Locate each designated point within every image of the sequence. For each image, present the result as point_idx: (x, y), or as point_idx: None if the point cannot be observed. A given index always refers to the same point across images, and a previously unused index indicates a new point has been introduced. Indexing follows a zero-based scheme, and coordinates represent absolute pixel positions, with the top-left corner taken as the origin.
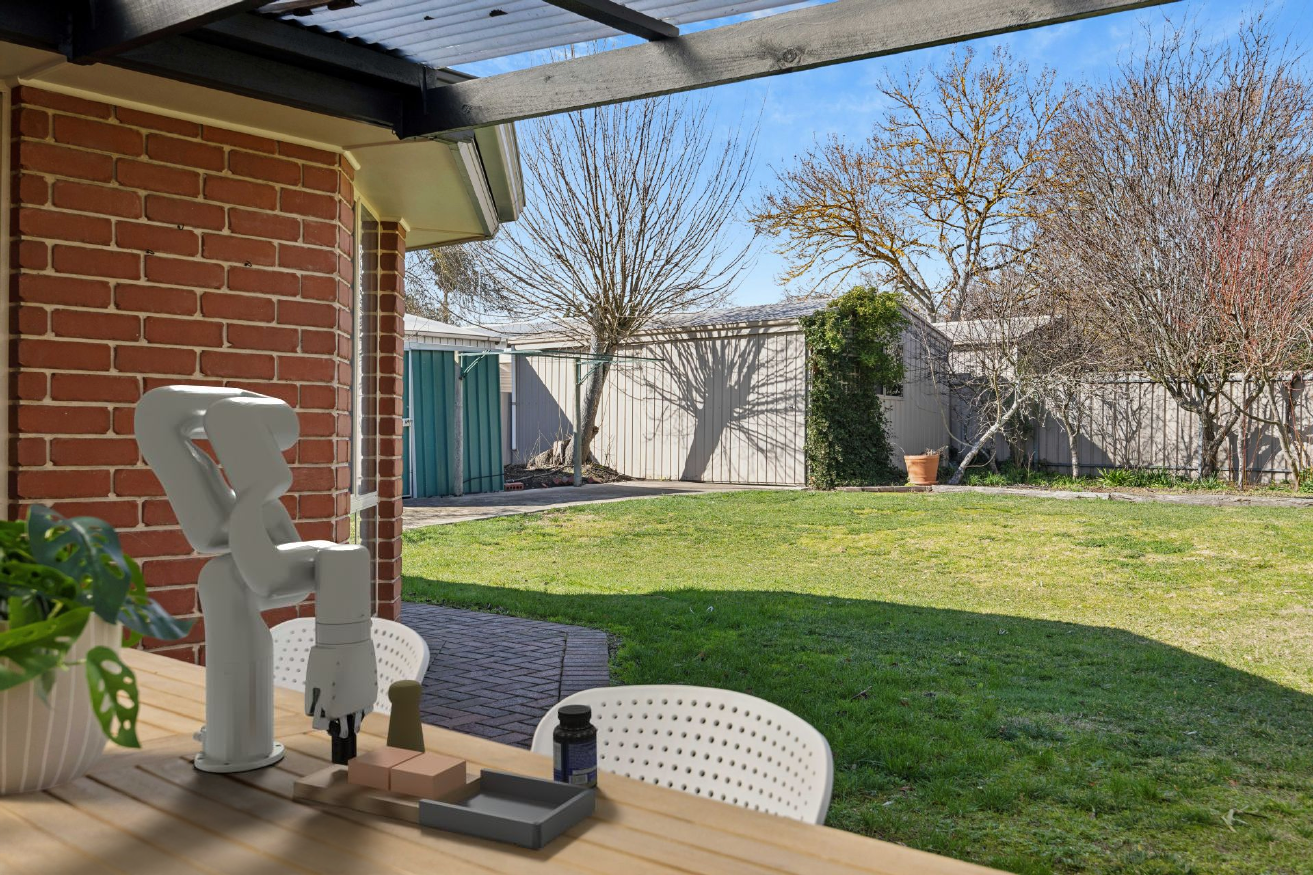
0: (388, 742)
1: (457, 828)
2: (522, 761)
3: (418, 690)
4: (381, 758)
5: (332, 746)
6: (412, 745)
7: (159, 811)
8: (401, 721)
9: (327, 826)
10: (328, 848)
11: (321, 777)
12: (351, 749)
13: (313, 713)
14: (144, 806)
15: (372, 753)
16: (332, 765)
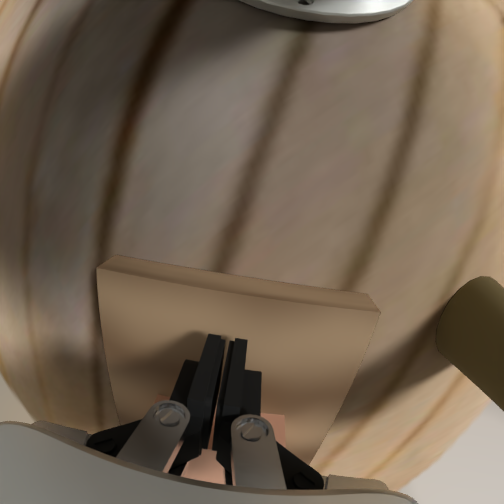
0: (470, 316)
1: None
2: (401, 474)
3: None
4: (191, 476)
5: (175, 384)
6: (455, 366)
7: (5, 68)
8: (488, 385)
9: (67, 387)
10: (41, 405)
11: (151, 323)
12: (213, 419)
13: (49, 440)
14: (20, 26)
15: (214, 459)
16: (251, 296)
